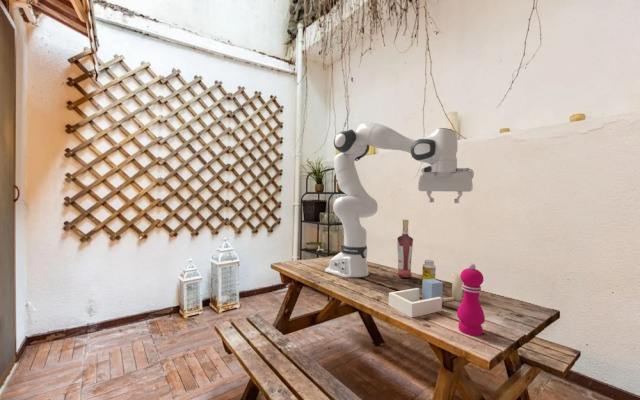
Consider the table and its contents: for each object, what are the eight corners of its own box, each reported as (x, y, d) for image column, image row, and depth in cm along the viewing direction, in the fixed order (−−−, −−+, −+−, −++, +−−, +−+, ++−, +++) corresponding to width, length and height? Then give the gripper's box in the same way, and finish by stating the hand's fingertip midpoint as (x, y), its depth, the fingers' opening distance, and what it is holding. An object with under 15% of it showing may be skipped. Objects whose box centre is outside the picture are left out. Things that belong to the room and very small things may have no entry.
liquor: (413, 279, 135) (415, 220, 134) (397, 278, 135) (399, 220, 135) (410, 275, 142) (411, 219, 141) (395, 274, 143) (396, 219, 142)
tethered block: (431, 305, 103) (431, 281, 103) (421, 300, 107) (422, 277, 107) (465, 300, 108) (466, 277, 108) (455, 296, 113) (456, 273, 113)
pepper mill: (455, 323, 89) (457, 259, 88) (482, 327, 86) (484, 262, 86) (457, 333, 82) (459, 264, 82) (486, 338, 79) (488, 267, 79)
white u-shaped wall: (411, 317, 92) (411, 303, 92) (388, 305, 102) (388, 292, 102) (441, 310, 98) (441, 297, 98) (416, 299, 108) (417, 287, 108)
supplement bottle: (419, 281, 132) (420, 259, 132) (429, 280, 134) (430, 259, 134) (427, 285, 127) (428, 262, 127) (437, 284, 128) (438, 261, 128)
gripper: (474, 168, 112) (473, 203, 112) (421, 170, 123) (420, 201, 123) (472, 166, 106) (471, 203, 107) (417, 168, 118) (416, 202, 118)
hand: (443, 202), depth 115 cm, fingers open, 8 cm apart
